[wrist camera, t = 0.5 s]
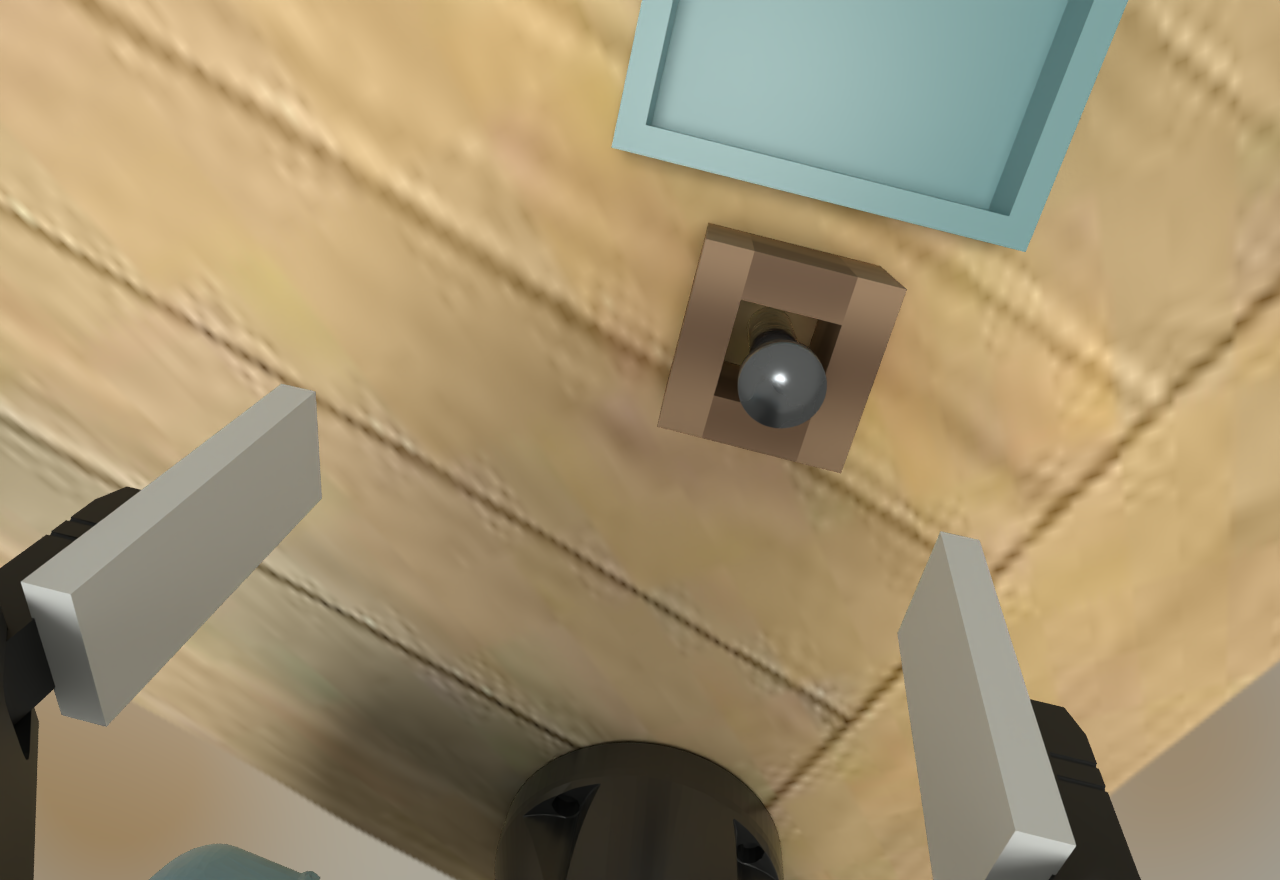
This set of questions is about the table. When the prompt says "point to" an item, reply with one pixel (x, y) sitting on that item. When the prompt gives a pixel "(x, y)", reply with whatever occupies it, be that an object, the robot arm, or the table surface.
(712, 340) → the collar
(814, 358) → the metal bolt
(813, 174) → the tray
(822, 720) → the table surface
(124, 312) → the table surface
